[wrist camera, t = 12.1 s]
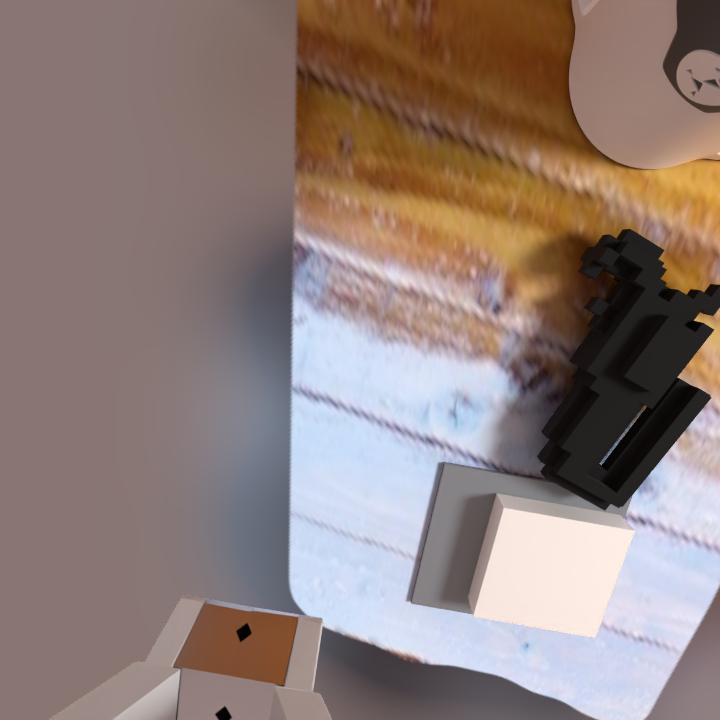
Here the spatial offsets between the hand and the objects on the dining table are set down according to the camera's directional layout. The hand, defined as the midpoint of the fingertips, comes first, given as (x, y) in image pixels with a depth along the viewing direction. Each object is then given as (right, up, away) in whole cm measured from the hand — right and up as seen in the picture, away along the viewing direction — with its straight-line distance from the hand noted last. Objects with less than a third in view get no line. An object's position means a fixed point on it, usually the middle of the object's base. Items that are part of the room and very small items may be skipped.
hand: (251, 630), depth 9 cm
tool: (+24, +5, +30) cm, 39 cm away
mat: (+18, -13, +35) cm, 41 cm away
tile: (+14, -13, +33) cm, 38 cm away
